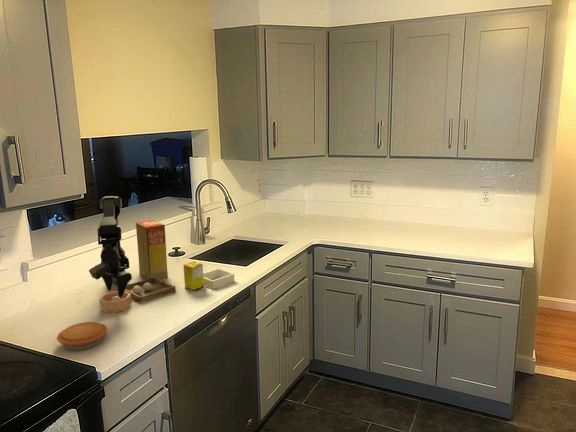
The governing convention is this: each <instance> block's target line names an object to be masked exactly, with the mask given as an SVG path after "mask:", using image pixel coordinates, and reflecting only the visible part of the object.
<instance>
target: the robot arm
mask: <svg viewBox="0 0 576 432" xmlns="http://www.w3.org/2000/svg"><path fill="white" fill-rule="evenodd" d="M122 202H123V201H122V198H121V197H119V196H114V195H110V196H107V195H106V196H104V197H103V196H102V198H100V199H99V207H100V209H102V213H103V215H102V217H103V218H102V220H100V221H99V224H98V225H99V227H97V244H98V245H101V246H102V248H101V252H100V263H99V264H96V265H95V266H93V267H91V268H90V269H89V270H88V272H89V275H90V276H91V278H92V279H95V280H100V279H101V278H102V281H103V282H104V284H105V287H106V290H107V291H108V292H112V288H113V287H112V286H113V284H114V285H115V286H116V289H117V290H116V291H118V294H119V297H122V296H123V293H124V291H125V288H126V286H127V285H128V284H129V282H131V281H132V279H133V276H132V274H131V273H130V272H128V271H126V270H128V269H130V268H131V267H130V259H129V258H128V257H127V255H126V252H125V250H124V248H123V247H122V246H121V241H122V228H121V227H120V225H119V215H120V214H121V208H123V203H122Z"/></svg>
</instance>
